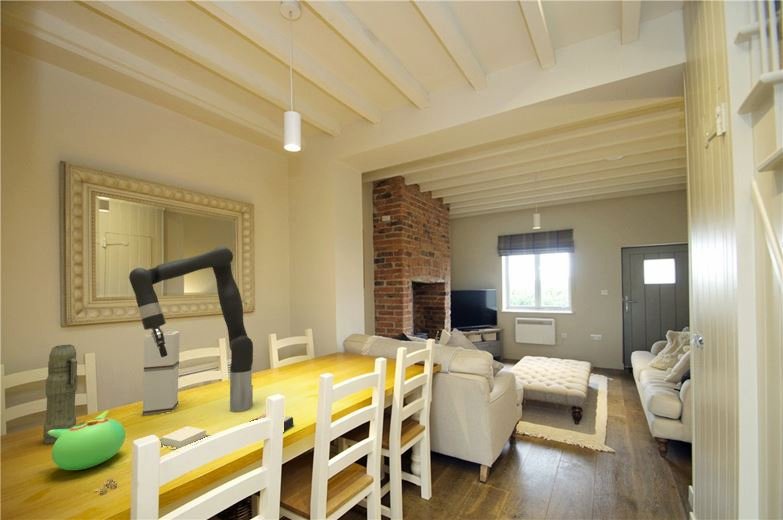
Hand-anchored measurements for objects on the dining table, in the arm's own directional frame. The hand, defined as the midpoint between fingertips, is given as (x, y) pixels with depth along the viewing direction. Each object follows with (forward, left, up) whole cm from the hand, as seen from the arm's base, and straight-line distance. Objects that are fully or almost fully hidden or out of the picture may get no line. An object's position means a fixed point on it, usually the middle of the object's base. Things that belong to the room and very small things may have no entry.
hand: (164, 356), depth 142 cm
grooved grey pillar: (-18, -20, -29) cm, 39 cm away
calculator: (-8, +43, -29) cm, 52 cm away
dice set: (+38, +20, -29) cm, 52 cm away
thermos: (+15, -32, -29) cm, 45 cm away
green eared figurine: (+28, 0, -29) cm, 40 cm away
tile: (+7, +13, -27) cm, 31 cm away
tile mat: (+8, +16, -29) cm, 34 cm away
